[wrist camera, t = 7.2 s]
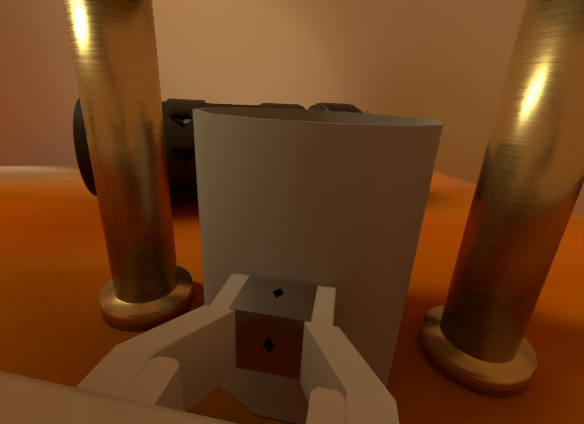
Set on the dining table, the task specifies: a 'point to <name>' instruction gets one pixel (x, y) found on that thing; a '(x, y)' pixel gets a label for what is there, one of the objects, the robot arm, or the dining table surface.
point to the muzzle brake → (177, 141)
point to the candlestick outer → (516, 208)
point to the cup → (314, 221)
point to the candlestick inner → (128, 159)
